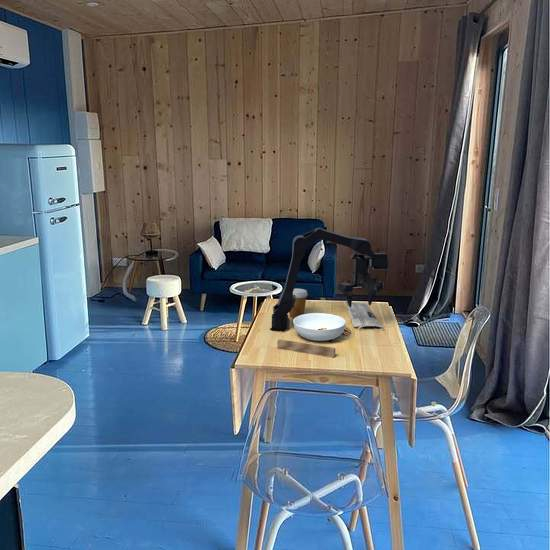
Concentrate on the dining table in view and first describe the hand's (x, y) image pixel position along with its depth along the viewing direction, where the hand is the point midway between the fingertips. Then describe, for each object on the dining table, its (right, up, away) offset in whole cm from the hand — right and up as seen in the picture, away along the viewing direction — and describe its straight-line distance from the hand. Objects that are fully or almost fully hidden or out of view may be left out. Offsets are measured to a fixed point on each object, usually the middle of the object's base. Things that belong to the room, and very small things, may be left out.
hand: (359, 306), depth 216 cm
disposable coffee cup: (-26, -6, +19) cm, 32 cm away
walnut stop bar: (-24, -16, -24) cm, 37 cm away
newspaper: (+4, -7, +18) cm, 20 cm away
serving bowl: (-17, -12, -7) cm, 22 cm away
